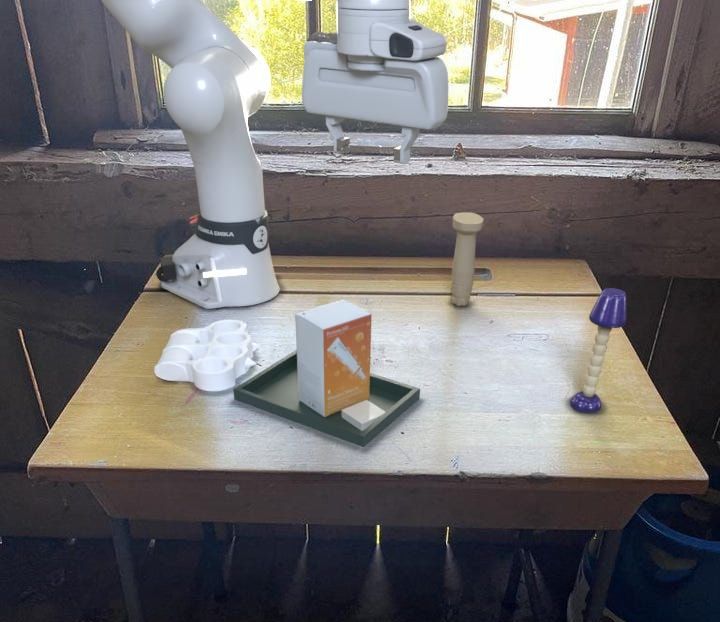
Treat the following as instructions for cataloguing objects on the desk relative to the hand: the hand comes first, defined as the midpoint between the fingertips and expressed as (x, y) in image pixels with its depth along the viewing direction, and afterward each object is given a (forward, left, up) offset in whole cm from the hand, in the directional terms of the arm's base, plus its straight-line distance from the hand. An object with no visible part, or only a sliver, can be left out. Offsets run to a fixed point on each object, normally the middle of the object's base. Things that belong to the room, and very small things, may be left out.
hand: (371, 157), depth 96 cm
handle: (+3, +26, -29) cm, 39 cm away
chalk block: (+10, -17, -28) cm, 35 cm away
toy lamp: (+34, +4, -29) cm, 45 cm away
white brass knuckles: (-18, -16, -29) cm, 38 cm away
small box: (+4, -15, -29) cm, 33 cm away
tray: (+3, -15, -29) cm, 33 cm away
